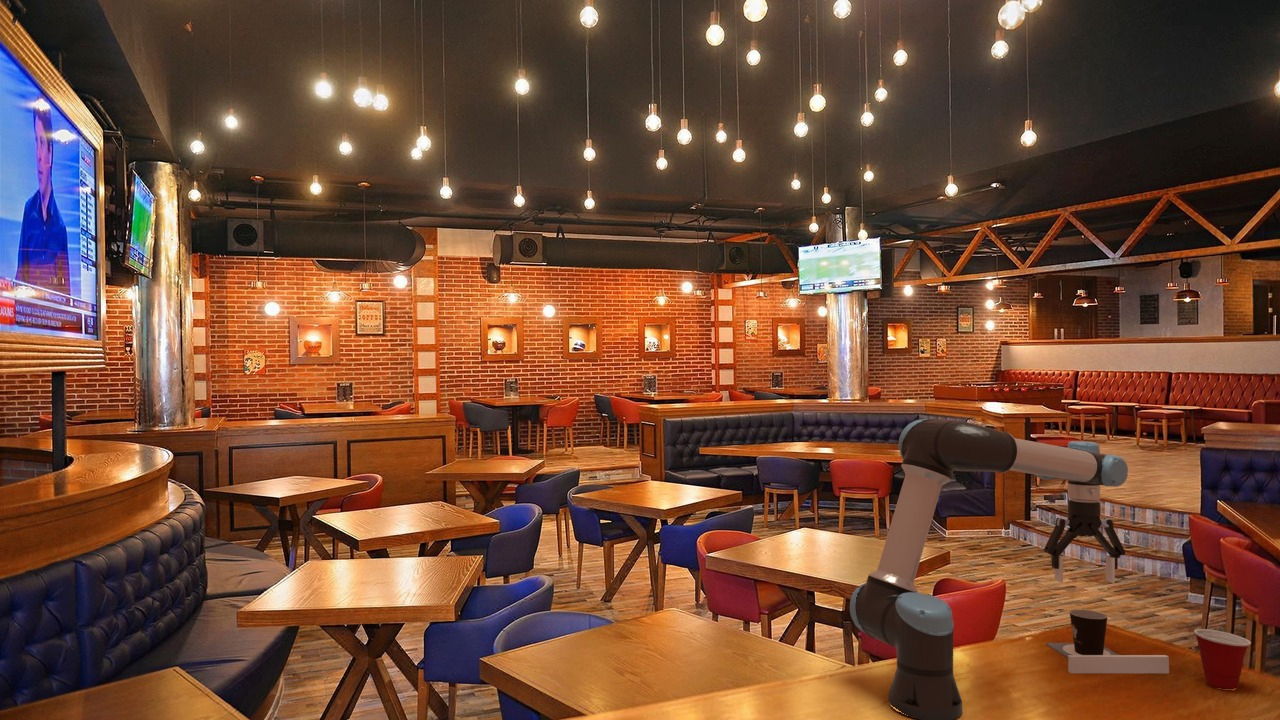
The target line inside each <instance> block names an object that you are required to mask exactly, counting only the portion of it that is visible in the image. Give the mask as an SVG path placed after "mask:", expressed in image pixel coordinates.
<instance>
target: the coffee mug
mask: <svg viewBox="0 0 1280 720" xmlns="http://www.w3.org/2000/svg"><path fill="white" fill-rule="evenodd" d="M1069 617H1070V623H1071V625H1070V626H1071V631H1072V638H1073V643H1074V647H1075V652H1076V653H1078V654H1081V655H1103V651H1104V647H1105V642H1106V641H1105V640H1106V632H1107V624H1108V615H1107V614H1106V613H1103V612H1099V611H1096V610H1092V609H1091V610H1090V609H1079V608H1078V609H1071V610H1069Z"/></svg>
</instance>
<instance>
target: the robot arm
mask: <svg viewBox="0 0 1280 720" xmlns="http://www.w3.org/2000/svg"><path fill="white" fill-rule="evenodd" d="M897 444H898V451H899V455H900V457H901V458H902V462H901V468H902V470H903V472H904V474H905V476H904V479H903V482H902V486H901V488H900V491H899V496H898V499H897V503H896V505H895V509H894V513H893V516H892V518H891V523H890V525H889V530H888V532H887V535H886V540H885V542H884V546H883V549H882V552H881V555H880V560H879V562H878V567H877V569H876V570H875V571H873V572H870V573H869V574H868V576H867V579H866V582H865V583H862V584H860V585H859V587H856V588H855V590H854V591H853V592H852V594H851V596H850V602H849V614H850V617H851V620H852V621H853V623H854V625H855V626H856V627H857V629H859V631H861V632H863V633H865V634H866V635H867V636H868V637H869V638H872V639H876V640H878V641H880V642H882V643H885V644H886V645H888V646H891V647H893V648H895V649H896V669H895V672H894V676H893V678H892V679H893V680H892V683H891V685H890V688H889V692H888V703H889V702H890V704H891V705H892V706H893V707H895V708H896V709H898V710H899V711H901V712H902V713H904V714H906V715H908V716H909V718H911V717H912V719H916V720H956V719H959V718H960V717H961V716H962V715H963V701H962V696H961V694H960V691H959V689H958V685H957V682H956V679H955V676H954V628H955V627H954V626H955V625H954V624H955V623H954V620H953V611H952V608H951V607H950V605H949V604H948V603H947V602H946V601H944V600H942V599H941V598H939V597H937V596H934V595H931V594H925V593H922V592H919V591H918V589H917V587H916V586H915V579H916V576H917V572H918V569H919V566H920V562H921V558H922V556H923V552H924V548H925V545H926V541H927V538H928V535H929V532H930V527H931V524H932V521H933V517H934V515H935V511H936V507H937V503H938V501H939V496H940V494H941V490H942V487H943V486H945V484H948V483H951V479H952V476H953V473H954V471H955V472H957V471H958V472H991V473H998V474H1004V473H1007V472H1008V471H1012V472H1019V473H1024V474H1031V475H1034V476H1035V477H1036V478H1038V479H1041V480H1048V481H1052V480H1059V481H1060V480H1061V481H1066V482H1067V498H1068V501H1067V514H1068V518H1066V519H1065V518H1061V517H1057V518H1056V519H1055V525H1054V528H1053V530H1052V531H1051V534H1050V536H1049V538H1048V540H1047V541H1046V544H1045V546H1044V548H1043V552H1044V553H1046V554H1048V555H1050V556H1051V558H1050V560H1051V568H1052V569H1054V581H1056V582H1058V583H1063V582H1064V557H1063V556H1061V554H1062V553H1064V551H1065V550H1066V549H1067V548H1068V547H1069V545H1070V544H1071V542H1072V541H1074V539H1076V538H1077V537H1086V536H1087V537H1094V539H1096V541H1097V542H1098V543H1099V544H1100V546H1101V547H1102V548H1103V549H1104V550H1105V551H1106V553H1107V554H1108V555H1105V581H1107V582H1108V583H1112V584H1116V573H1115V572H1116V570H1118V566H1119V565H1118V564H1119V563H1118V562H1119V561H1118V559H1120V558H1121V556H1124V555H1126V550H1125V548H1124V546H1123V545H1122V543H1121V540H1120V538H1119V537H1118V534H1117V533H1116V530H1115V528H1114V522H1113V520H1112V519H1110V518H1106V517H1104V518H1102V519H1101V514H1102V513H1101V511H1102V509H1101V503H1100V500H1101V486H1104V487H1113V488H1115V487H1120V486H1122V485H1123V484H1125V482H1126V481H1127V479H1128V474H1129V468H1128V467H1129V466H1128V464H1127V462H1126V460H1124V458H1123V457H1121V456H1118V455H1114V454H1113V455H1112V454H1110V453H1107V454H1102V453H1101V452H1100V451H1101V449H1100V445H1099V443H1097V442H1094V441H1083V440H1081V441H1079V440H1076V441H1075V440H1071V441H1069V442H1068V443H1067V447H1065V446H1061V445H1054V444H1050V443H1049V444H1048V443H1042V442H1039V441H1038V442H1037V441H1032V440H1026V439H1021V438H1015V437H1014V436H1013V435H1012V434H1011V433H1010V432H1007V431H1003V430H998V429H995V428H990V427H987V426H984V425H983V426H982V425H979V424H976V423H972V422H968V421H964V420H963V421H961V420H948V419H947V420H945V419H936V418H925V419H917V420H914V421H912V422H910V423H908V424H907V425H906V426H905V427H904V429H903V430H902V431H901V434H900V435H899V439H898V443H897ZM1067 525H1068V527H1069V528H1068V529H1067V530H1066V532H1065V534H1064V535H1063V533H1064V531H1065V528H1066V527H1067ZM1101 527H1102V528H1103V529H1104V531H1105V534H1106V535H1107V538H1108V539H1109V541H1110V542H1109V541H1108V540H1107V539H1106V537H1105V536H1104V534H1103V533H1102V532H1101V530H1100V528H1101ZM1062 535H1063V536H1062ZM908 716H907V717H908Z"/></svg>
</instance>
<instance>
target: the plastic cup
mask: <svg viewBox="0 0 1280 720" xmlns="http://www.w3.org/2000/svg"><path fill="white" fill-rule="evenodd" d="M1193 633H1194V635H1195V637H1196V642H1197V646H1198V649H1199V654H1200V660H1201V665H1202V669H1203V673H1204V678H1205V682H1206V684H1207V686H1209V685H1210V686H1211V688H1213V687H1214V689H1216V688H1221V689H1234V688H1237V689H1238V687H1239V683H1240V678H1241V676H1242V675H1241V674H1242V670H1243V666H1244V665H1243V664H1244V660H1245V654H1246V652H1247V650H1248V647H1250V646H1251V644H1252V642H1251V641H1250V640H1249V639H1247V638H1245V637H1242V636H1239V635H1236V634H1234V633H1230V632H1226V631H1221V630H1216V629H1209V628H1208V629H1206V628H1196V629H1194V630H1193ZM1210 686H1209V687H1210Z"/></svg>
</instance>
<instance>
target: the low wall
mask: <svg viewBox="0 0 1280 720" xmlns="http://www.w3.org/2000/svg"><path fill="white" fill-rule="evenodd" d="M1067 661H1068V662H1067V663H1068V664H1067V665H1068V667H1067V671H1068V673H1070V674H1170V657H1169V655H1166V654H1162V655H1161V654H1156V655H1155V654H1151V655H1150V654H1148V655H1147V654H1146V655H1145V654H1140V655H1139V654H1125V655H1124V654H1123V655H1122V654H1118V655H1068V658H1067Z"/></svg>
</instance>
